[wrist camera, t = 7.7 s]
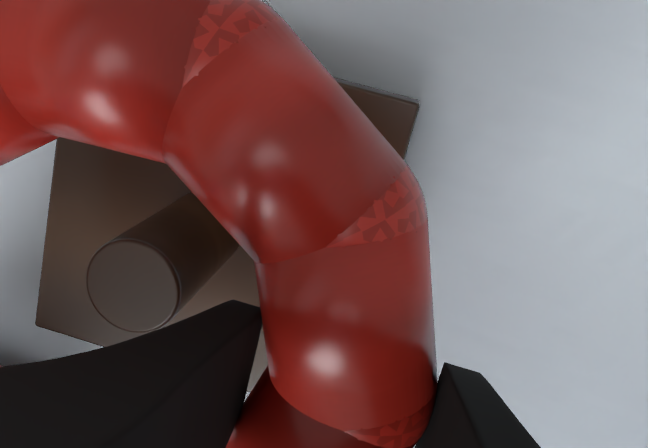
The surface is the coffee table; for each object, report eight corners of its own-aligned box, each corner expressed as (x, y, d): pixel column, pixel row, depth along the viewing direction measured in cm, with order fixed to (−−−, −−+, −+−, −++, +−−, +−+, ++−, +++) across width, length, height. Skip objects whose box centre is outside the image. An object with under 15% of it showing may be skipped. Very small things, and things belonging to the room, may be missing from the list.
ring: (363, 594, 14) (348, 728, 11) (-133, 441, 15) (-258, 528, 12) (527, 55, 10) (562, 57, 7) (-141, -93, 11) (-319, -137, 8)
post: (334, 395, 19) (298, 536, 13) (56, 310, 19) (-87, 411, 14) (420, 99, 16) (418, 125, 11) (94, 13, 17) (-65, -5, 11)
